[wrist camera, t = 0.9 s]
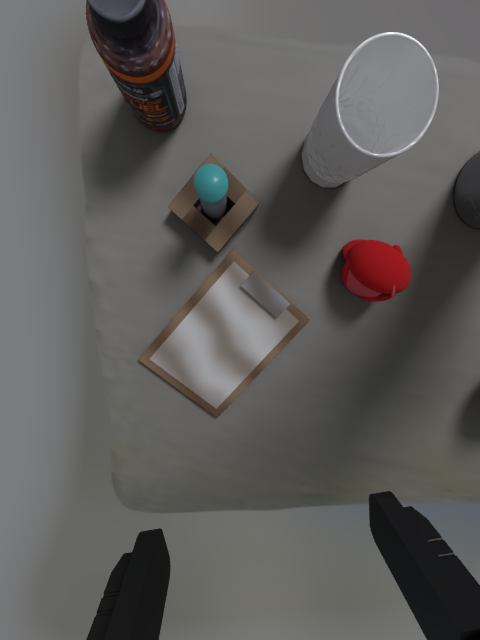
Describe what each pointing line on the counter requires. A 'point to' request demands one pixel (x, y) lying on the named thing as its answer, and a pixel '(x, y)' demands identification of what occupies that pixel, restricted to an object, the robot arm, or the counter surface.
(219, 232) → the marker stand
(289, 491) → the counter surface
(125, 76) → the supplement bottle
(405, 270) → the cap
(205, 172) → the marker
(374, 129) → the white cup
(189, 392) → the clipboard
